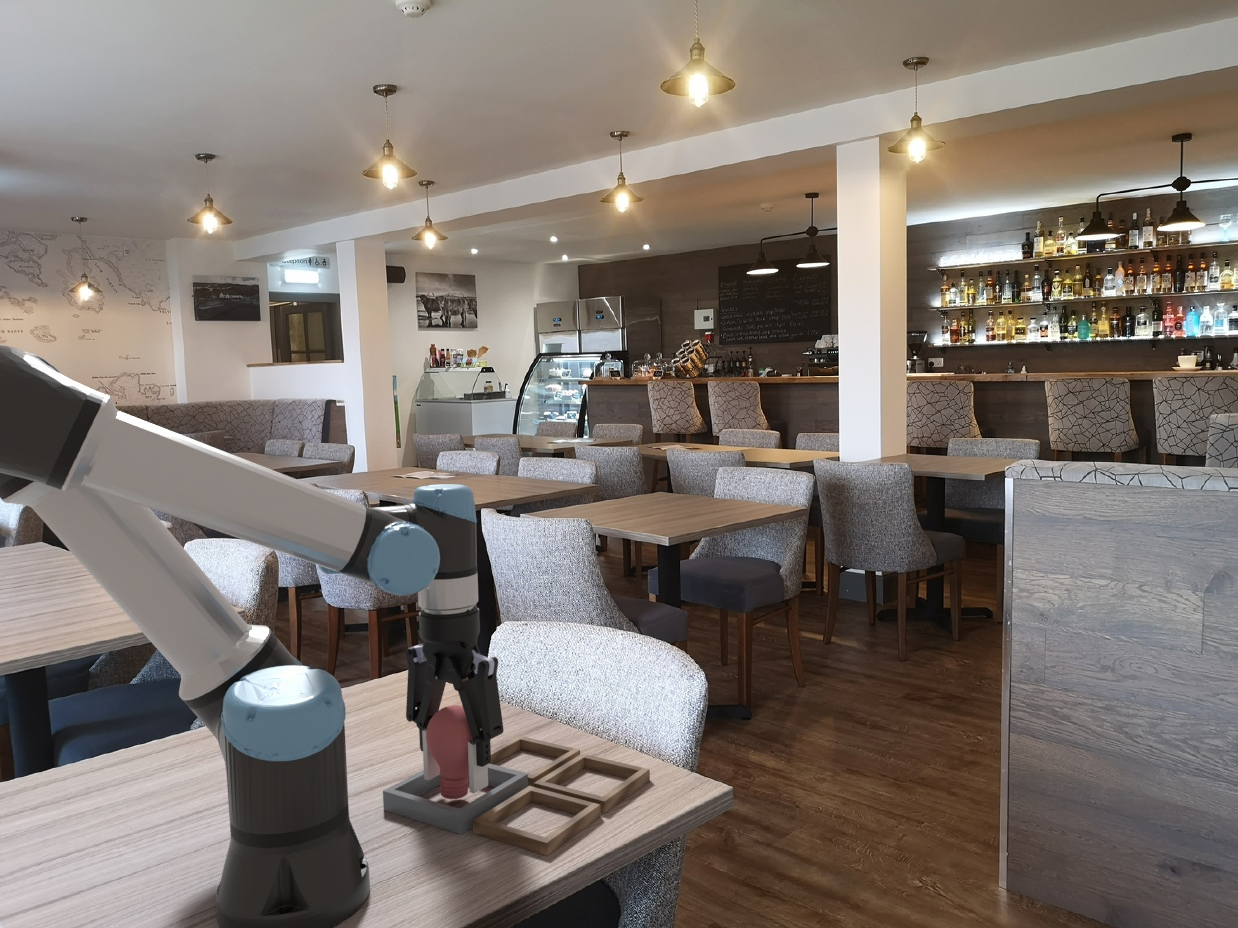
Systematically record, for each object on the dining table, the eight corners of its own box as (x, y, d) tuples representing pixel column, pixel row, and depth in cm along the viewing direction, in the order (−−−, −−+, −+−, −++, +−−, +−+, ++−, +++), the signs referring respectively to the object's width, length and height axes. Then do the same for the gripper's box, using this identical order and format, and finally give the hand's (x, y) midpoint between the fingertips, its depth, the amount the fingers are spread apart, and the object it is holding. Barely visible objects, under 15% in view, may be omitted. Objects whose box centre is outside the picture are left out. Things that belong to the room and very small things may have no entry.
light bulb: (490, 785, 123) (487, 697, 122) (477, 810, 116) (473, 716, 115) (438, 785, 123) (434, 697, 122) (421, 809, 116) (417, 716, 115)
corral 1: (461, 834, 111) (460, 813, 110) (383, 809, 117) (382, 790, 117) (528, 792, 121) (527, 773, 121) (453, 772, 128) (453, 754, 128)
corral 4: (604, 812, 115) (604, 801, 115) (534, 793, 121) (534, 782, 121) (649, 779, 124) (649, 769, 124) (582, 763, 130) (581, 753, 130)
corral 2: (533, 789, 122) (532, 778, 122) (469, 772, 128) (469, 761, 128) (580, 759, 132) (580, 749, 131) (519, 745, 137) (518, 735, 137)
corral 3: (547, 855, 105) (546, 842, 105) (473, 832, 111) (472, 820, 111) (600, 816, 114) (600, 804, 114) (529, 796, 120) (529, 785, 120)
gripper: (529, 608, 115) (535, 787, 117) (412, 592, 126) (420, 756, 128) (490, 622, 109) (497, 811, 111) (370, 604, 119) (379, 776, 121)
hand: (455, 781), depth 119 cm, fingers closed on light bulb, 7 cm apart
